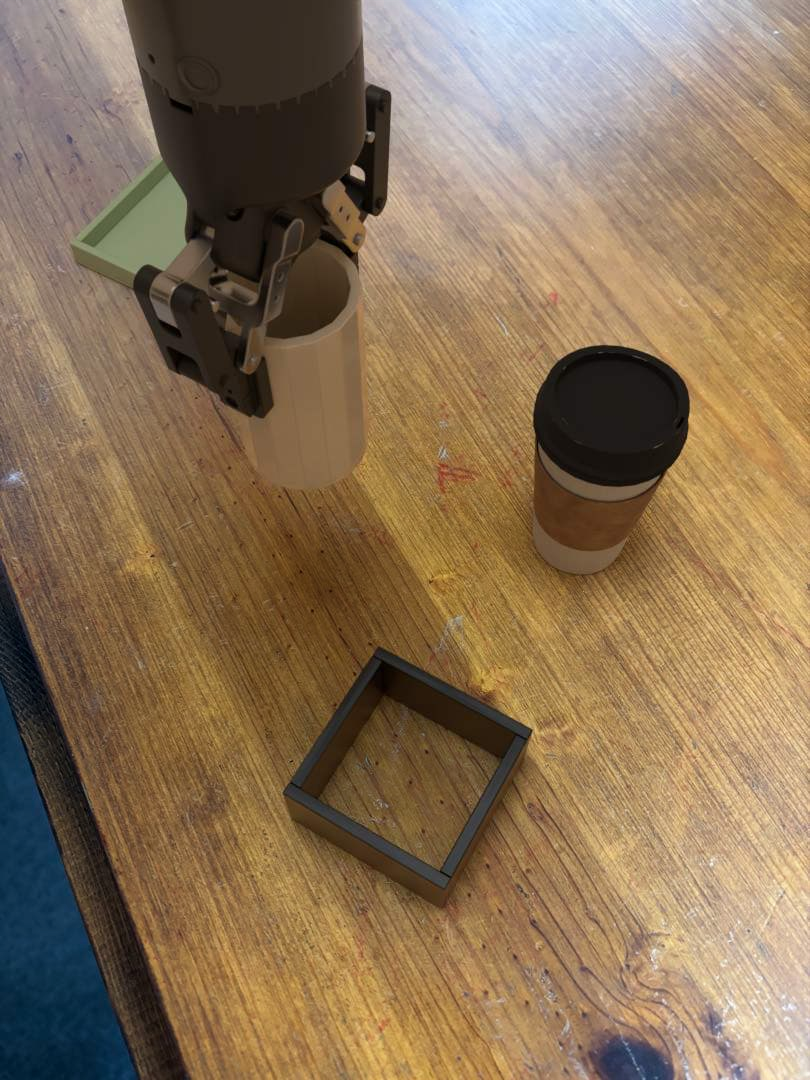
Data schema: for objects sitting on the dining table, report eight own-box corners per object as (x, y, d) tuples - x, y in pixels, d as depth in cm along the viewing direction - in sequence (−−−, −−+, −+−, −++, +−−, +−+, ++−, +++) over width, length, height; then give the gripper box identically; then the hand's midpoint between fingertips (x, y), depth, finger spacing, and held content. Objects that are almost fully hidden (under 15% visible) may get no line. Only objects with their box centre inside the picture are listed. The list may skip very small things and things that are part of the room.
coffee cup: (607, 615, 66) (656, 485, 53) (489, 553, 69) (509, 414, 56) (663, 517, 70) (723, 373, 57) (549, 461, 72) (582, 310, 59)
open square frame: (441, 909, 58) (444, 890, 53) (290, 818, 60) (281, 792, 56) (524, 758, 62) (533, 729, 57) (380, 679, 64) (378, 645, 60)
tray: (195, 319, 78) (190, 300, 77) (76, 262, 81) (69, 243, 80) (293, 209, 84) (291, 189, 82) (179, 159, 87) (174, 139, 85)
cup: (323, 511, 53) (306, 369, 43) (219, 455, 54) (180, 307, 45) (391, 421, 55) (389, 270, 46) (290, 371, 57) (267, 214, 47)
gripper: (278, -119, 39) (313, 227, 53) (9, 107, 32) (132, 428, 47) (457, -55, 37) (443, 286, 51) (207, 198, 31) (271, 503, 45)
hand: (294, 353), depth 49 cm, fingers closed on cup, 6 cm apart
